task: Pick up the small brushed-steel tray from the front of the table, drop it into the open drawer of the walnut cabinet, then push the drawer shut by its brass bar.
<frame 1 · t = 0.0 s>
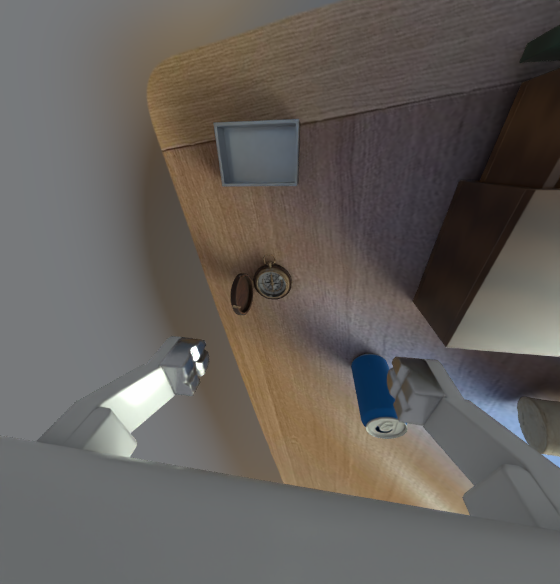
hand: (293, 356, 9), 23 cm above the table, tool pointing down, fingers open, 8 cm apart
compass: (268, 274, 33), on the table
beverage can: (367, 361, 41), on the table
tray: (261, 156, 25), on the table
cabinet: (492, 252, 27), on the table
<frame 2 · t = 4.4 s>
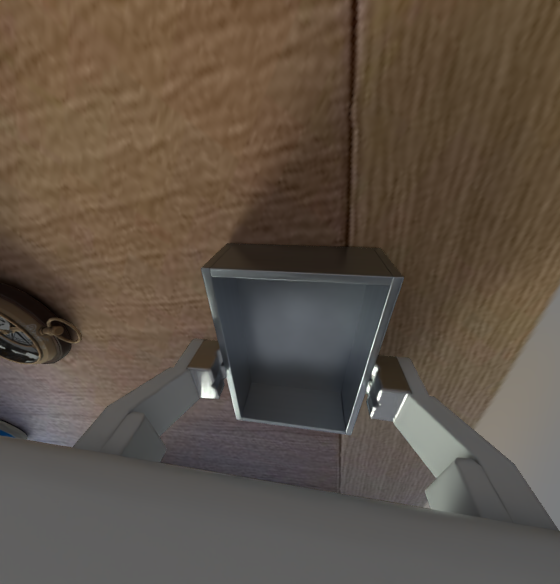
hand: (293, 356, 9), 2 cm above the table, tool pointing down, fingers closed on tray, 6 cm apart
compass: (33, 307, 13), on the table
beverage can: (7, 426, 25), on the table
tray: (297, 331, 11), on the table, touching gripper
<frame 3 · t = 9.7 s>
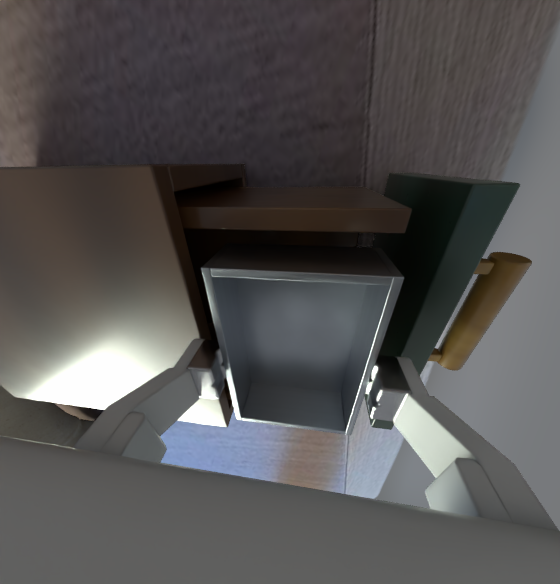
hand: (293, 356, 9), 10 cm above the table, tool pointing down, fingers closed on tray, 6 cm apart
tray: (297, 331, 11), point 8 cm above the table, touching gripper
drawer: (305, 297, 13), point 5 cm above the table, slide at 9.0 cm
vase: (75, 398, 36), on the table
cabinet: (164, 260, 19), on the table
when the fingers open (10 cm above the table, at t = 14.3 s): tray drops 6 cm, resting on drawer.
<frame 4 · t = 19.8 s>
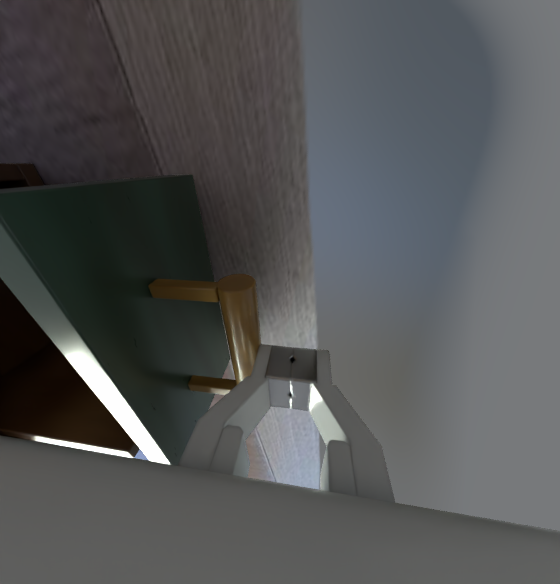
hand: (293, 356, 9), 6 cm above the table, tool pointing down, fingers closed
drawer: (88, 320, 11), point 5 cm above the table, slide at 9.0 cm, touching gripper, tray
cabinet: (4, 270, 17), on the table
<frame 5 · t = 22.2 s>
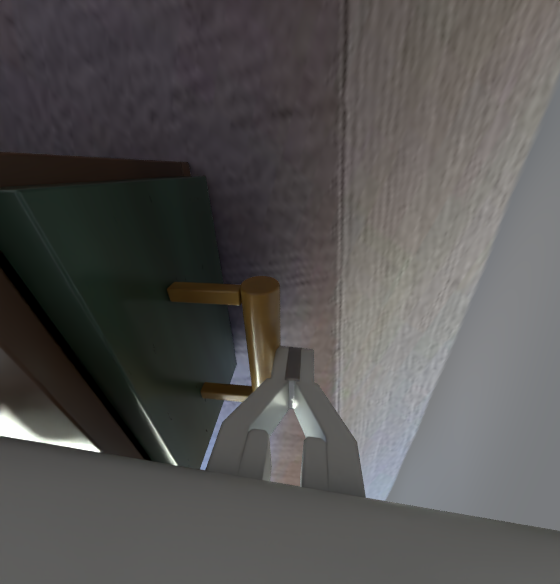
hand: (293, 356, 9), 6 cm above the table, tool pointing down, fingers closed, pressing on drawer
tray: (127, 298, 13), point 2 cm above the table, touching drawer
drawer: (93, 326, 11), point 5 cm above the table, slide at 0.0 cm, touching cabinet, gripper, tray
cabinet: (103, 281, 15), on the table
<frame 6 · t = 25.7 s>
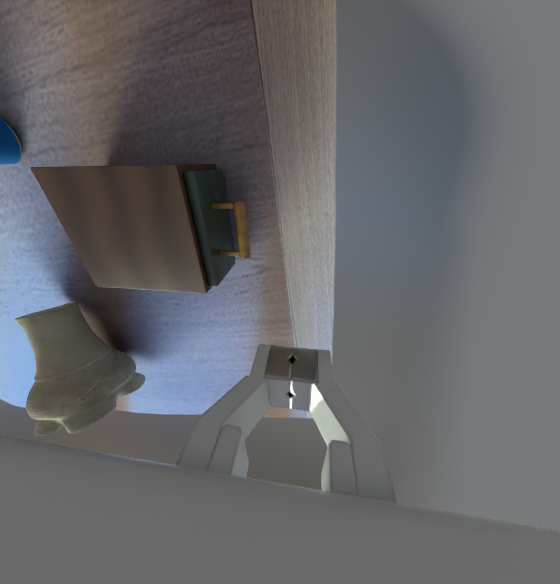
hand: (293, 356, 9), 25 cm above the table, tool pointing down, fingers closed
beverage can: (5, 137, 30), on the table
drawer: (179, 227, 28), point 5 cm above the table, slide at 0.0 cm, touching tray
vase: (106, 332, 50), on the table
cabinet: (173, 219, 33), on the table
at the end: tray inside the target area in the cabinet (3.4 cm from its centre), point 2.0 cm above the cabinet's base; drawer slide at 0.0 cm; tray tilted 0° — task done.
